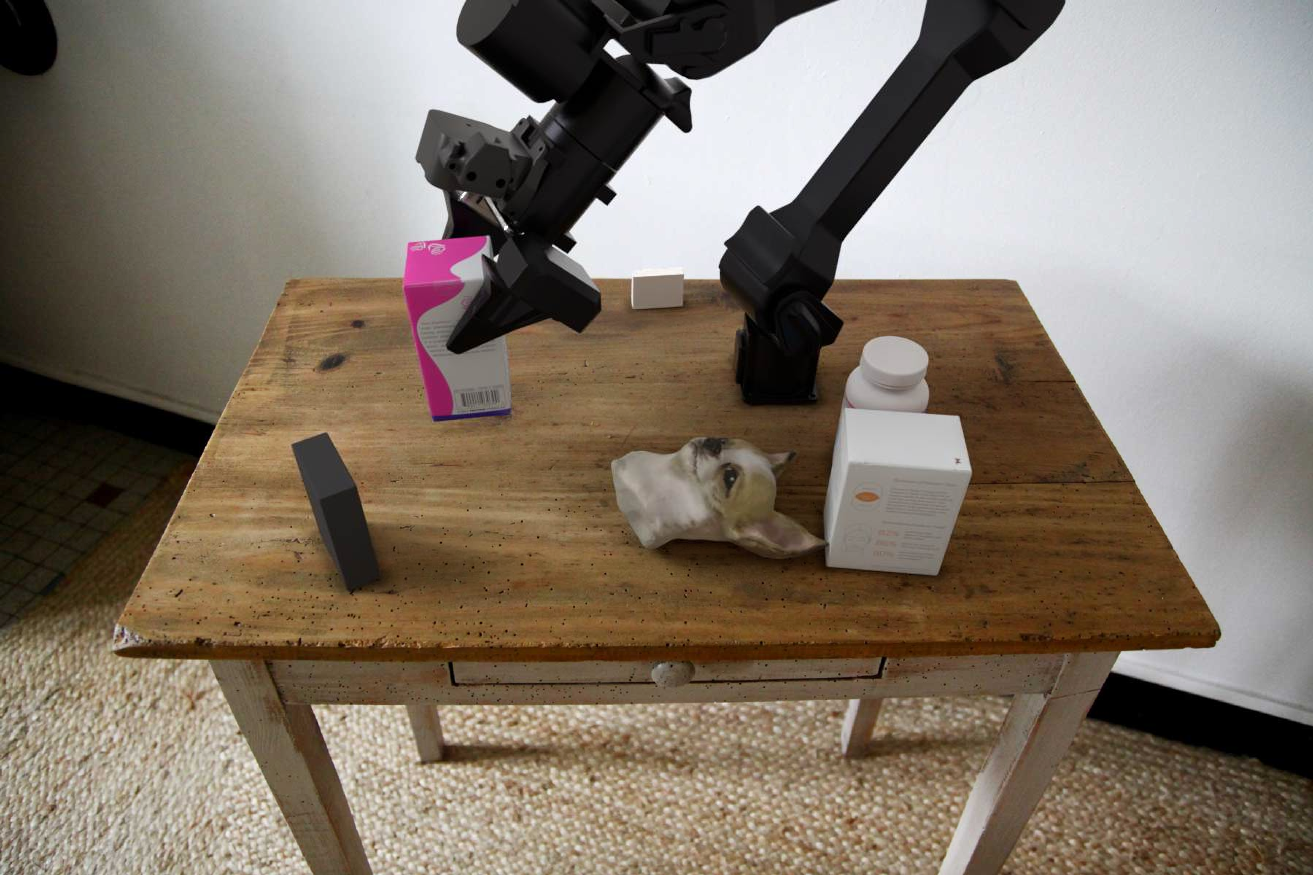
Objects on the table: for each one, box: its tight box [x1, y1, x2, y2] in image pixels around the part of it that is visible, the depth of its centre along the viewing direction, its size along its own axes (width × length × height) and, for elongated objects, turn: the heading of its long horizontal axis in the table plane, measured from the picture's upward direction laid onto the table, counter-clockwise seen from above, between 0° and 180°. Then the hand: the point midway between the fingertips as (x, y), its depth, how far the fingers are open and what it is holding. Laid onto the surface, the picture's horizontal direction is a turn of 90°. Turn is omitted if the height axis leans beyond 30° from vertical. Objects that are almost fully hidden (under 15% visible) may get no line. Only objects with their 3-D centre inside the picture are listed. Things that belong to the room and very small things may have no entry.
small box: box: [823, 408, 973, 576], centre depth 64 cm, size 8×6×10 cm
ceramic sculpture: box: [610, 436, 829, 560], centre depth 66 cm, size 11×9×15 cm
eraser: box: [631, 266, 685, 310], centre depth 89 cm, size 1×5×4 cm, turn 98°
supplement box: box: [402, 236, 512, 423], centre depth 64 cm, size 6×6×12 cm
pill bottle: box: [832, 335, 930, 460], centre depth 70 cm, size 6×6×11 cm
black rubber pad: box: [290, 431, 382, 592], centre depth 62 cm, size 2×6×9 cm, turn 32°
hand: (439, 323), depth 63 cm, fingers closed on supplement box, 6 cm apart
